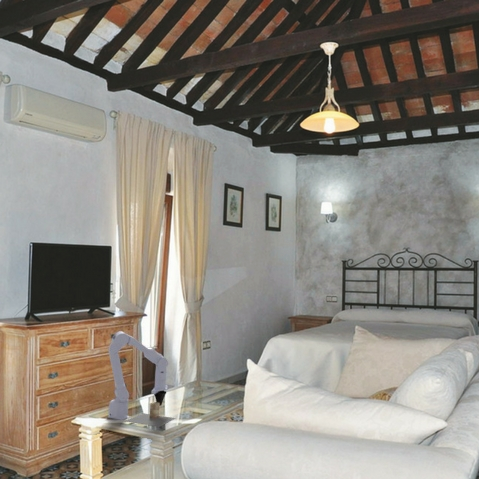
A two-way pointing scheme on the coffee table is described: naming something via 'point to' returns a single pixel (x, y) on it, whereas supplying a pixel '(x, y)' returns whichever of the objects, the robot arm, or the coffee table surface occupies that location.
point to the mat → (150, 420)
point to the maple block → (154, 409)
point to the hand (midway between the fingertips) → (159, 405)
